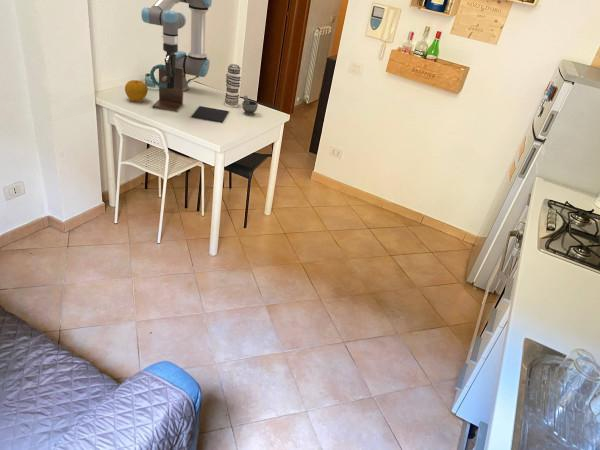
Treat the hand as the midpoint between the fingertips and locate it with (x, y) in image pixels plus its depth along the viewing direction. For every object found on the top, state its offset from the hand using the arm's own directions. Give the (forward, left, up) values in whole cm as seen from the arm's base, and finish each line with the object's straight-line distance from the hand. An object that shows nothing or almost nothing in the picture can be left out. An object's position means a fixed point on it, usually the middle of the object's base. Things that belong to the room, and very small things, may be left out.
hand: (170, 87), depth 241 cm
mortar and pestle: (-23, +42, -15) cm, 50 cm away
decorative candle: (-35, +29, -15) cm, 48 cm away
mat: (-10, +21, -15) cm, 28 cm away
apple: (-13, -24, -15) cm, 31 cm away
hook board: (-12, -5, -15) cm, 20 cm away
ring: (0, -5, +5) cm, 7 cm away
